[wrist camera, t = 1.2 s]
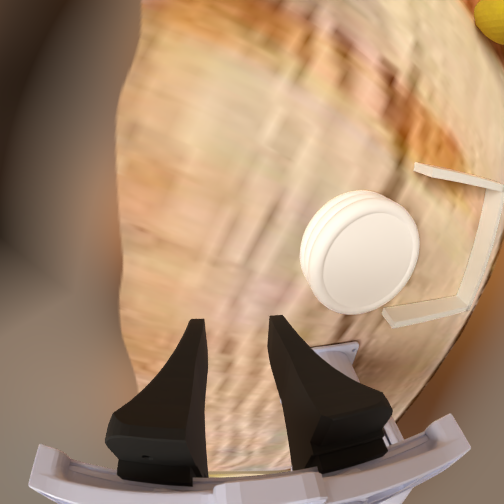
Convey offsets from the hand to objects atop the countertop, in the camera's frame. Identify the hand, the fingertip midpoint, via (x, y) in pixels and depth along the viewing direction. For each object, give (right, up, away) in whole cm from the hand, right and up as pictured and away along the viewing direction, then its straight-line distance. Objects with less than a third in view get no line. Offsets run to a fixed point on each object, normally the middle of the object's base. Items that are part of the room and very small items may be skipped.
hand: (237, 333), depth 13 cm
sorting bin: (+20, +5, +11) cm, 23 cm away
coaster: (+9, +5, +10) cm, 14 cm away
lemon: (+25, +28, 0) cm, 38 cm away
